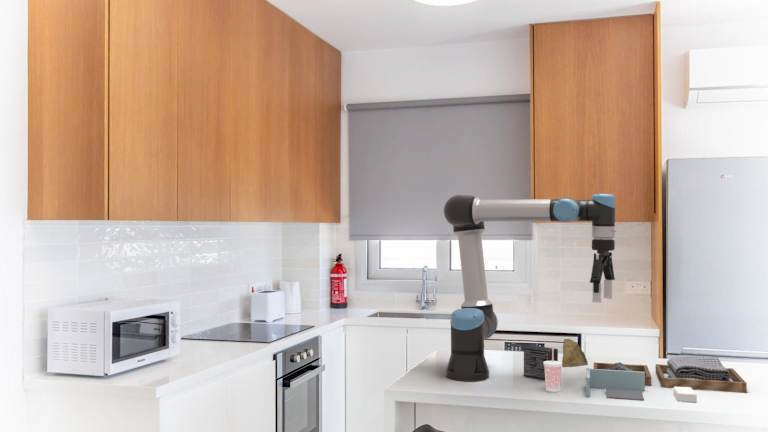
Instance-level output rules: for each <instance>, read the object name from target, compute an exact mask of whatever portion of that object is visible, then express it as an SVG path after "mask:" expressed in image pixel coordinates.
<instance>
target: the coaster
mask: <svg viewBox="0 0 768 432" xmlns="http://www.w3.org/2000/svg"><path fill="white" fill-rule="evenodd" d="M605 396H606V397H605V398H606V399H615V400H616V399H617V400H618V399H619V400H631V401H632V400H633V401H645V398H644V394H643V391H640V390H624V389H609V388H606V389H605Z"/></svg>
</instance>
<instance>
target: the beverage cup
mask: <svg viewBox="0 0 768 432" xmlns="http://www.w3.org/2000/svg"><path fill="white" fill-rule="evenodd" d="M551 348H552V361H544V362H543V363H544V368H545V380H544V381H545V391H547V392H553V393H555V392H556V393H558V392H560V391H561V381H562V368H563V366H562V361H559V360H558V361H554V349H555V348H554V347H553V346H552V347H551Z"/></svg>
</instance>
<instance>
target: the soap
mask: <svg viewBox="0 0 768 432" xmlns="http://www.w3.org/2000/svg"><path fill="white" fill-rule="evenodd" d="M672 390H673V391H672V393H673V396H674V397H675V399H676V401H677V402H679V401H682V402H683V403H697V399H698V395H697V393H696V392H695V391H694V389H692V388H691V387H676V386H675V387H674V388H672Z"/></svg>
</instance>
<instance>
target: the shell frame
mask: <svg viewBox="0 0 768 432" xmlns="http://www.w3.org/2000/svg"><path fill="white" fill-rule="evenodd" d="M614 364H615V363H612V362H610V363H608V362H595V361H594V362H593V369H605V370H608V369H609V368H611V367H613V366H614ZM622 364H623V365H625V366H626V367H628V368H630V369H632V370H633V371H639V372H645V387H646V386H648V387H652V376H651V373H650V370H649V367H648V365H646V364H629V363H628V364H626V363H622Z"/></svg>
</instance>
